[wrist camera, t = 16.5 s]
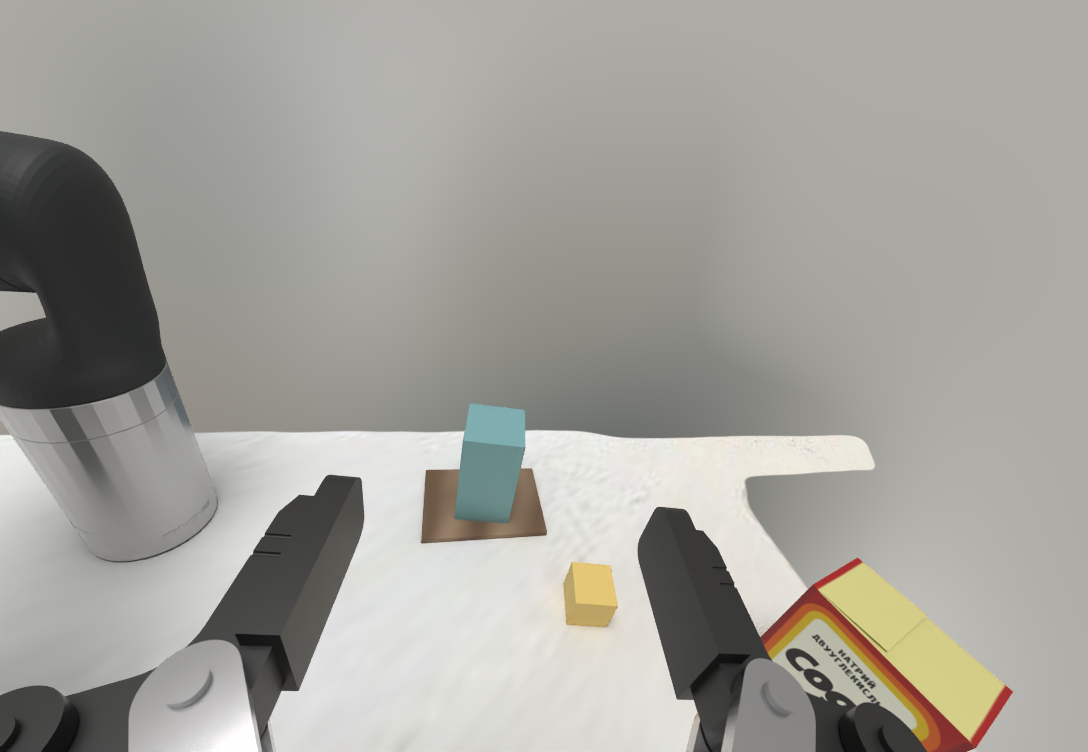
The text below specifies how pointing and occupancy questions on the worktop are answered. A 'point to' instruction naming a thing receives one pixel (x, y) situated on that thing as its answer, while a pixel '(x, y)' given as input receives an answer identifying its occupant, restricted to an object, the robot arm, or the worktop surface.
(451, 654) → the worktop surface
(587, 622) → the small yellow cube
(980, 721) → the baking soda box
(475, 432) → the tall teal block
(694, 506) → the worktop surface
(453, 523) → the mat
